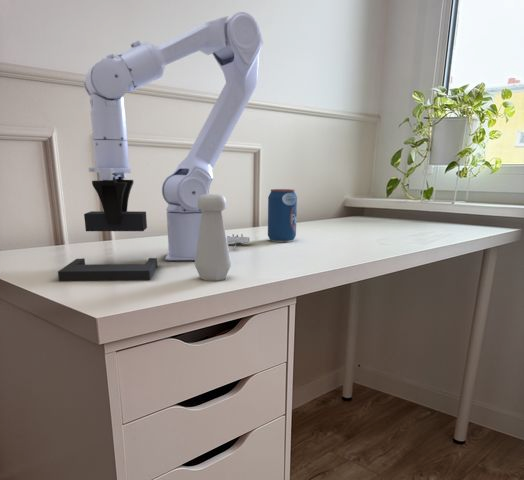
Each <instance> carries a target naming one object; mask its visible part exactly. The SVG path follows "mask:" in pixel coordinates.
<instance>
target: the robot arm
mask: <svg viewBox="0 0 524 480" xmlns="http://www.w3.org/2000/svg"><path fill="white" fill-rule="evenodd" d="M263 44H264V41H263V38H262V34H261V31H260V26H259V24H258V22H257V20H256V19H255V18H254V16H253V15H251V14H250V13H248V12H245V11H238V12H236V13H234V14H232V15H231V17H229V16H228V15H225V16H222V17H219V18H215V19H212V20H209V21H206V22H203V23H201V24H199V25H197V26H196V27H193V28H192V29H189V30H187V31H185V32H183V33H180V34H179V35H178V36H175V37H173V38H171V39H169V40H168V41H165V42H164V43H161V44H159V45H155V44H154V43H151V42H149V41H143V42H141V41H140V40H139V39H137V40H136V41H133V42H132V43H130V48H128V49H126V50H124V51H122V52H120V53H116V54H114V53H109V54H107V55H106V57H103V58H101V60H99V61H98V62H96V63H95V64H94V65H92V66H91V67H90V68H89V69H88V70H87V72H86V75H85V79H84V82H83V86H84V89H85V91H86V93H87V95H88V96H89V103H90V120H91V121H90V122H91V131H92V144H93V152H94V164H95V167H88V172H89V173H90V172H91V173H95V174H98V179H99V180H91V185H92V187H93V189H94V190H95V192H96V193H97V196H98V198H99V200H100V204H101V206H102V210H103V211H104V213H105V217H106V220H107V222H108V224H119V223H120V221H121V215H122V211H128V205H129V199H130V194H131V190H132V188H133V186H134V182H135V181H134V179H126V178H127V177H126V176H127V175H126V174H131V173H132V169H131V167H130V159H129V157H130V156H129V144H128V129H127V119H126V118H127V115H126V114H127V113H126V108H125V97H124V96H125V95H126V93H127V92H128V93H129V92H133V91H135V90H137V89H139V88H141V87H143V86H146V85H148V84H150V83H152V82H153V81H156V80H159V79H160V78H162V77H163V74H164V71H165V68H166V66H167V65H169V64H172V63H174V62H176V61H178V60H181V59H183V58H186V57H188V56H190V55H192V54H195V53H197V52H201V53H203V54H205V55H207V56H209V55H212V56H213V58H214V60H215V61H216V63H217V65H218V66H219V68H220V70H221V71H222V73H223V76H224V80H225V84H224V86H223V87H222V90H221V92H220V93H219V95H218V97H217V99H216V100H215V103H214V105H213V107H212V108H211V110H210V112H209V114H208V116H207V118H206V120H205V121H204V123H203V126H202V127H201V129H200V131H199V132H198V135H197V137H196V139H195V140H194V142H193V144H192V146H191V148H190V150H189V152H188V154H187V155H186V157H185V158H183V160H182V161H181V162H180V163H179V164H178V165H177V167H176V168H175V170H174V172H173V173H172V174H170V175H168V176H167V177H166V178H165V179H164V181H163V182H162V185H161V195H162V197H163V199H164V201H165V202H166V203H167V207H166V209H165V210H166V225H167V244H168V245H167V247H168V252H167V254H166V256H165V258H164V260H165V261H195V257H196V250H197V243H198V236H199V230H200V223H201V216H202V210H200V209H199V208H198V198H199V197H200V196H201V195H204V194H210V188H211V187H210V186H211V184H212V182H213V181H214V173H213V169H214V167H215V165H216V163H217V161H218V160H219V158H220V156H221V153H223V149H224V148H225V146H226V144H227V143H228V141H229V138H230V137H231V135H232V133H233V131H234V129H235V127H236V125H237V124H238V122H239V120H240V118H241V116H242V114H243V112H244V110H245V108H246V107H247V104H248V103H249V101H250V99H251V98H252V96H253V93H254V92H255V90H256V88H257V85H258V77H259V75H258V74H259V60H260V53H261V50H262V47H263Z"/></svg>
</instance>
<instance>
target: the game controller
mask: <svg viewBox="0 0 524 480" xmlns="http://www.w3.org/2000/svg"><path fill="white" fill-rule="evenodd" d="M240 235H241V236H239V234H236V235H235V234H234V233H232V236H230V235H226V238H227V243H228V244H230V243H233V244H234V246H233V248H236V246H237V244H241V243H243V244H250V237H249V236H244V234H242V233H241V234H240Z"/></svg>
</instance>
